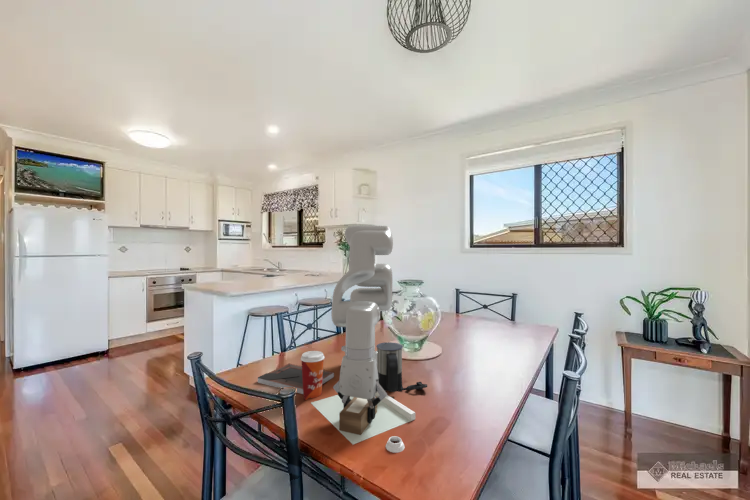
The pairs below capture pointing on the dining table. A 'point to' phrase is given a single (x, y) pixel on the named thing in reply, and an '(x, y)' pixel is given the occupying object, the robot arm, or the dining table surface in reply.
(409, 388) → the milk frother
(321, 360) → the paper cup
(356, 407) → the brown rectangular box
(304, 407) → the dining table surface
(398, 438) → the white flanged bushing
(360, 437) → the wall board
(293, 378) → the picture frame
